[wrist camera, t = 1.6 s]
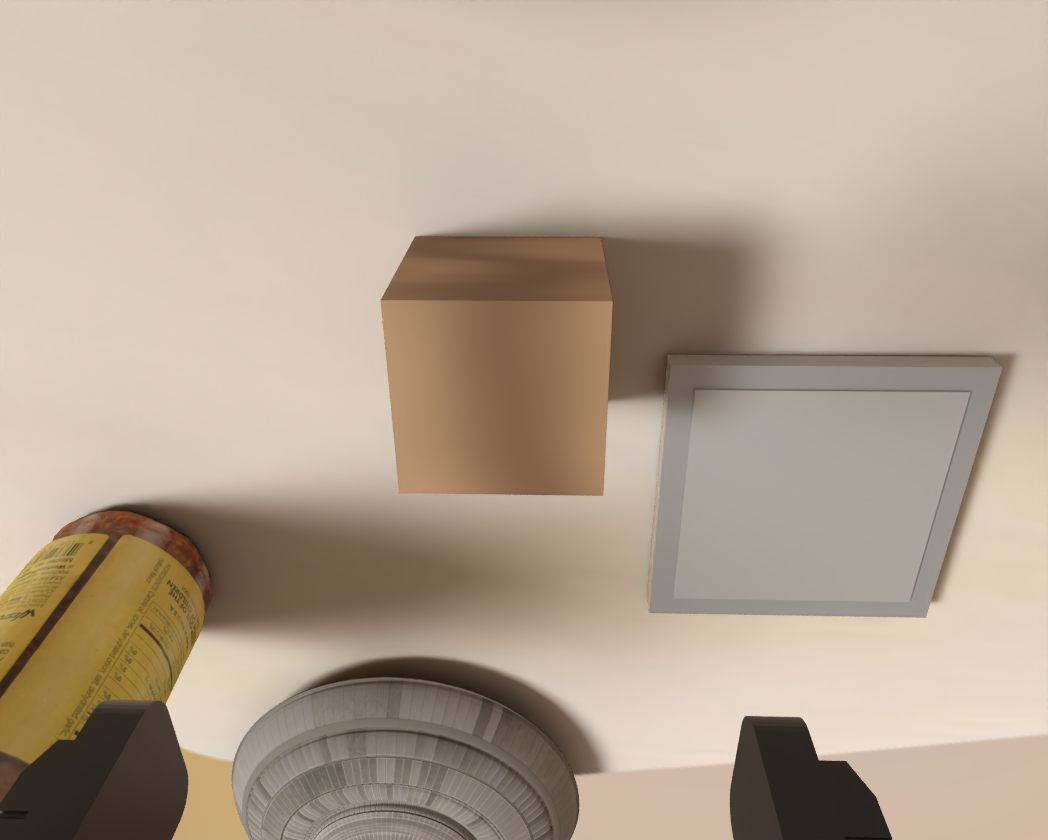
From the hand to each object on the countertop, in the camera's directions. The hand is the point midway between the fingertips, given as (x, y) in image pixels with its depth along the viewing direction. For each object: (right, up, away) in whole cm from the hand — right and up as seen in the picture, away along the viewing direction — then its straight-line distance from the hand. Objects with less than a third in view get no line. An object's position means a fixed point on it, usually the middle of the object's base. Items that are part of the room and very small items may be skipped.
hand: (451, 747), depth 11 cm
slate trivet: (+11, +2, +16) cm, 20 cm away
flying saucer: (-4, -11, +25) cm, 28 cm away
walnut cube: (+1, +8, +14) cm, 16 cm away
